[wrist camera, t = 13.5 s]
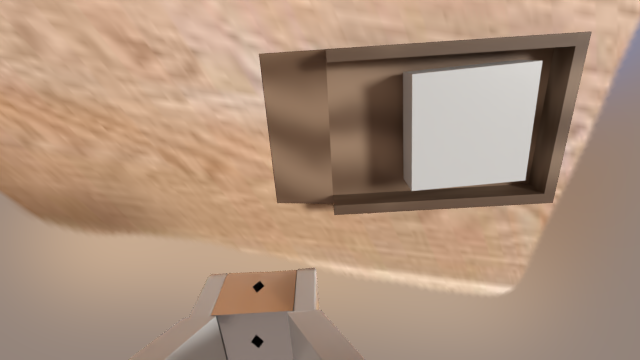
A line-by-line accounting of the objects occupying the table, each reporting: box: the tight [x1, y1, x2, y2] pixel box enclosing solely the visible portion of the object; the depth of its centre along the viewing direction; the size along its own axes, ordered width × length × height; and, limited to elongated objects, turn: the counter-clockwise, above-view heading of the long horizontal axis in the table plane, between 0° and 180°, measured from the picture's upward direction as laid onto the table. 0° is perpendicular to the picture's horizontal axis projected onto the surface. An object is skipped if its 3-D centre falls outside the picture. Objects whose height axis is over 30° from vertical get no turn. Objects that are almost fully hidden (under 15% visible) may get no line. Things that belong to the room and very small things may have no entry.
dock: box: [259, 32, 591, 215], centre depth 30 cm, size 15×27×4 cm, turn 94°
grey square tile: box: [403, 60, 542, 191], centre depth 29 cm, size 10×10×4 cm
